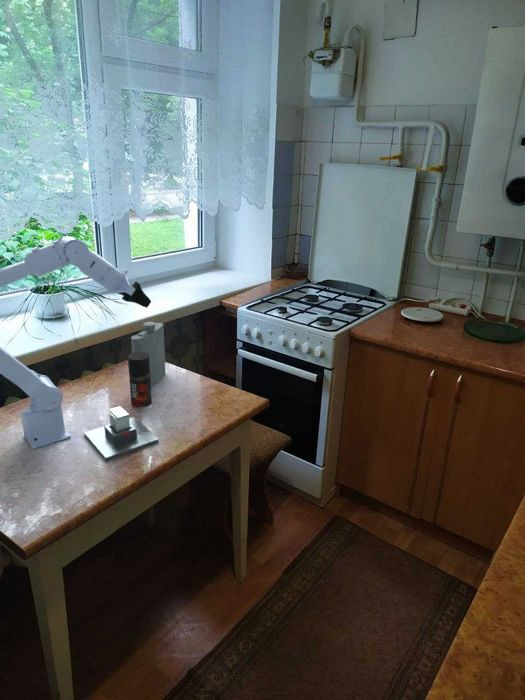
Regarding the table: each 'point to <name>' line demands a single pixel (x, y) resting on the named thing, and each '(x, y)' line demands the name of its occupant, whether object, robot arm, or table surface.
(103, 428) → the base plate with holder
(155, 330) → the hip flask
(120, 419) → the column
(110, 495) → the table surface
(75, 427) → the table surface
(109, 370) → the table surface
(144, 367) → the deodorant
